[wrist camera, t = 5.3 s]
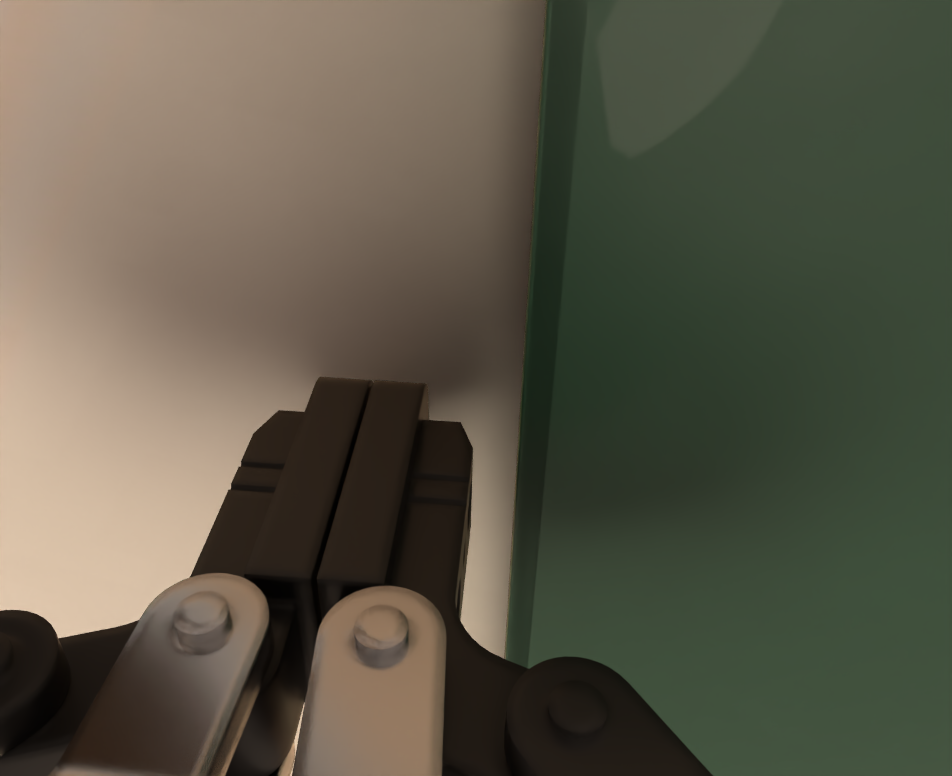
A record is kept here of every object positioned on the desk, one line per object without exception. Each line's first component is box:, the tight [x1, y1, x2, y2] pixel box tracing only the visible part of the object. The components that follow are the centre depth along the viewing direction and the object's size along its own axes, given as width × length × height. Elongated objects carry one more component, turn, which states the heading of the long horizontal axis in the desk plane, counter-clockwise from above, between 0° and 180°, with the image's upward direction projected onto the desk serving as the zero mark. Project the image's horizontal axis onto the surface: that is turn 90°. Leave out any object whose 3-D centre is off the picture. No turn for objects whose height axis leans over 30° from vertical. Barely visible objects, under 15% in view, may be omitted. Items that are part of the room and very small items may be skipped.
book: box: [504, 0, 952, 776], centre depth 12 cm, size 15×11×2 cm
